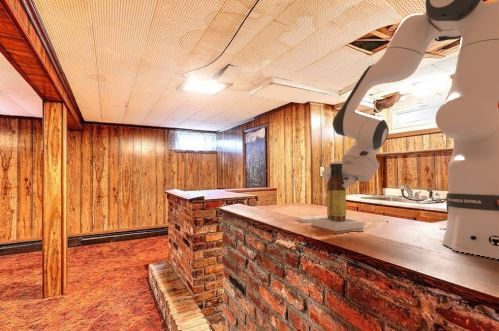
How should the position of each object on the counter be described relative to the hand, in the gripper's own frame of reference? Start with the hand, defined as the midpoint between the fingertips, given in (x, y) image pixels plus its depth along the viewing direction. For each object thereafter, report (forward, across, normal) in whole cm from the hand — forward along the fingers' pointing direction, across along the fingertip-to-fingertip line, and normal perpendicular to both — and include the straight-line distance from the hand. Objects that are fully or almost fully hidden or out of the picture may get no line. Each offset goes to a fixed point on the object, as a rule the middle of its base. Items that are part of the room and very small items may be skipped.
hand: (335, 186), depth 88 cm
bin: (+10, 0, +11) cm, 15 cm away
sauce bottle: (+8, 0, +9) cm, 12 cm away
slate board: (+10, -14, +11) cm, 20 cm away
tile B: (+12, -13, +8) cm, 19 cm away
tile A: (+7, -13, +12) cm, 19 cm away
